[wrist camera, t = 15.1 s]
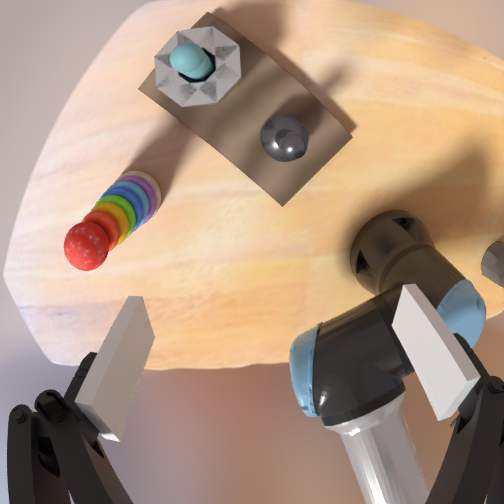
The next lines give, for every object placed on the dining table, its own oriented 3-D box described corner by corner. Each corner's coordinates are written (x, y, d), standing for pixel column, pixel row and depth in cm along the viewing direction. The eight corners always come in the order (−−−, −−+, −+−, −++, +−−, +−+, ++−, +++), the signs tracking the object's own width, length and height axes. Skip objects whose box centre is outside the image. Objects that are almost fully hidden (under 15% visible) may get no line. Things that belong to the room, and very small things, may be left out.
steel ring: (243, 102, 30) (242, 101, 27) (167, 110, 30) (158, 110, 27) (239, 33, 26) (238, 23, 22) (163, 42, 26) (153, 35, 23)
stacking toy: (115, 166, 38) (41, 212, 22) (165, 172, 39) (110, 222, 22) (114, 215, 42) (52, 280, 25) (160, 222, 43) (115, 295, 26)
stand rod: (310, 135, 35) (335, 146, 25) (281, 165, 37) (295, 186, 27) (280, 106, 33) (293, 105, 24) (250, 137, 35) (252, 148, 25)
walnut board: (348, 135, 37) (352, 137, 35) (280, 202, 42) (282, 206, 40) (209, 15, 28) (207, 11, 26) (142, 89, 33) (137, 89, 31)
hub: (244, 69, 31) (243, 48, 19) (207, 108, 33) (186, 108, 21) (203, 39, 28) (181, 6, 17) (167, 78, 31) (128, 65, 19)
